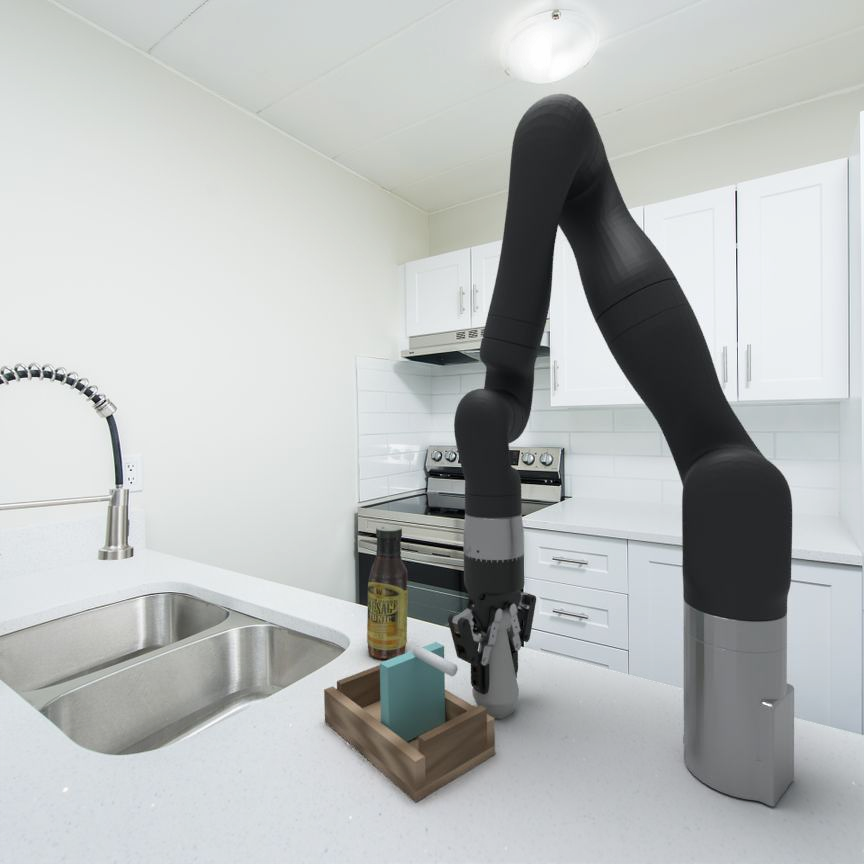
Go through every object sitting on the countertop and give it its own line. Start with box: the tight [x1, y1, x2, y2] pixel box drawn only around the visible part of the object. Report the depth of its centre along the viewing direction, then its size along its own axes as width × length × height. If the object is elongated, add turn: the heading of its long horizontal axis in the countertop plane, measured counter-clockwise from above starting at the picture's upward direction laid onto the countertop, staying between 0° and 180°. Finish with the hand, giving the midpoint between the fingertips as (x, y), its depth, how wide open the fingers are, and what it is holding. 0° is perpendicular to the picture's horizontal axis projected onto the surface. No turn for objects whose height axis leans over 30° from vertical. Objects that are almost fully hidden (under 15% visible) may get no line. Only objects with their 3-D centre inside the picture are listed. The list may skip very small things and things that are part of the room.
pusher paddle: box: [379, 642, 459, 742], centre depth 58 cm, size 8×8×10 cm
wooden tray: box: [323, 664, 496, 803], centre depth 61 cm, size 18×11×6 cm, turn 40°
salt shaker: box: [471, 609, 520, 720], centre depth 67 cm, size 6×6×13 cm
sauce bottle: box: [366, 524, 409, 660], centre depth 83 cm, size 7×6×20 cm
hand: (495, 683), depth 67 cm, fingers open, 4 cm apart
